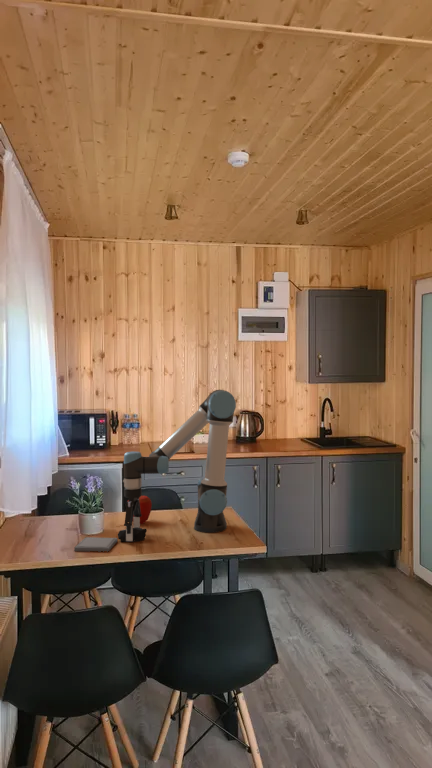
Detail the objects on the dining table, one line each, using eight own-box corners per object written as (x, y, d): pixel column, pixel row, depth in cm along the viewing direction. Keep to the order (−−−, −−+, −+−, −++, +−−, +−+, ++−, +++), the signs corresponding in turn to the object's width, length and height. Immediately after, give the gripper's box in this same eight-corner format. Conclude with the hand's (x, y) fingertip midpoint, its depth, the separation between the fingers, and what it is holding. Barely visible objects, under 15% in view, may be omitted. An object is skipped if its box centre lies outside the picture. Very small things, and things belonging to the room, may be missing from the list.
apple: (146, 518, 277) (145, 490, 277) (156, 524, 267) (156, 494, 267) (122, 522, 271) (122, 493, 270) (132, 528, 260) (131, 498, 260)
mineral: (131, 545, 235) (131, 531, 235) (116, 541, 240) (116, 528, 240) (147, 539, 243) (147, 526, 243) (132, 536, 248) (132, 523, 248)
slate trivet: (117, 541, 240) (117, 537, 240) (108, 551, 226) (108, 547, 226) (85, 540, 241) (85, 536, 241) (74, 551, 227) (74, 547, 227)
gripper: (131, 481, 256) (131, 527, 256) (116, 493, 231) (117, 544, 232) (147, 482, 255) (147, 528, 256) (134, 494, 230) (135, 545, 231)
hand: (133, 536), depth 244 cm, fingers open, 13 cm apart
